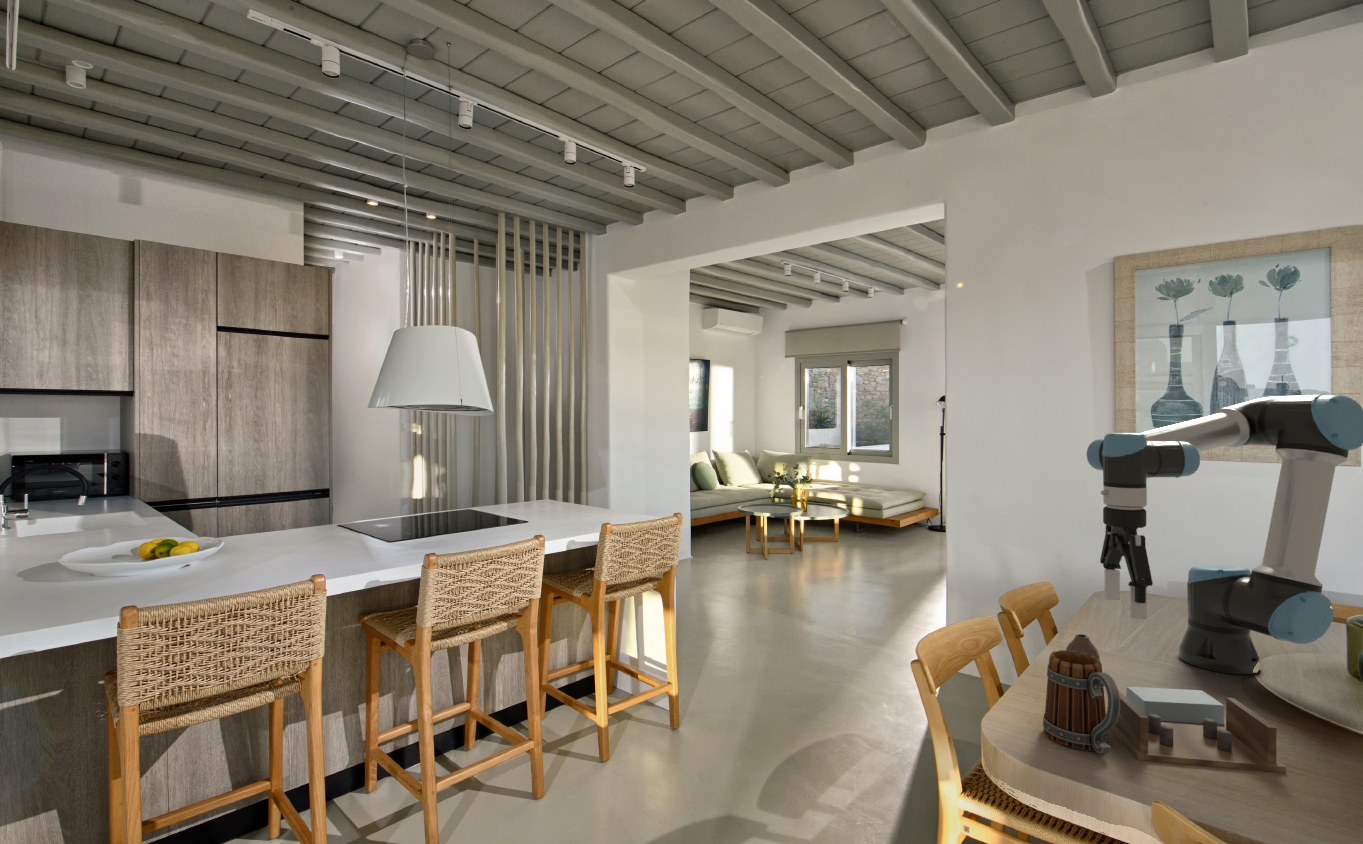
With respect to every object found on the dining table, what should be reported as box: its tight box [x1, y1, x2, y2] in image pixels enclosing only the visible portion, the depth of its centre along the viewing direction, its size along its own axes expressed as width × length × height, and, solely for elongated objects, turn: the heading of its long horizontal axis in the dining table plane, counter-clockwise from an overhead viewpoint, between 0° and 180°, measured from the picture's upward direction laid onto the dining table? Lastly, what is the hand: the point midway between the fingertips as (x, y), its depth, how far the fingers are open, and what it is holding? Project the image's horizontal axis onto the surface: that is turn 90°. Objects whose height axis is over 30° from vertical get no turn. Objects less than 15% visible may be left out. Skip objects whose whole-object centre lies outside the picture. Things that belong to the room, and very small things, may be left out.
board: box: [1126, 686, 1225, 725], centre depth 133 cm, size 14×7×4 cm, turn 81°
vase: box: [1065, 633, 1101, 661], centre depth 154 cm, size 7×7×9 cm
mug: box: [1042, 649, 1120, 754], centre depth 121 cm, size 16×11×15 cm
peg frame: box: [1110, 689, 1287, 774], centre depth 120 cm, size 22×14×7 cm, turn 78°
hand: (1124, 608), depth 139 cm, fingers open, 13 cm apart
